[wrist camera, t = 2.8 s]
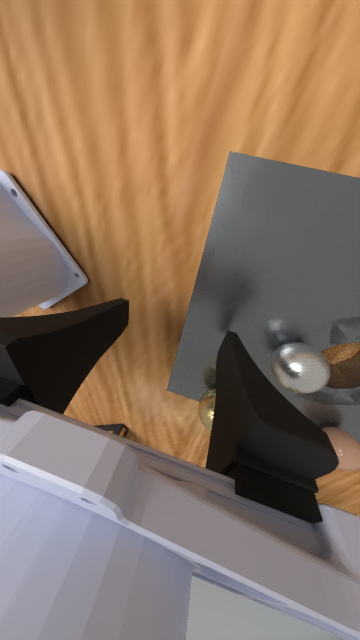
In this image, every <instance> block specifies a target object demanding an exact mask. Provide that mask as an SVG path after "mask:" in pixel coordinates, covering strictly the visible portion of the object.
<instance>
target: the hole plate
mask: <svg viewBox="0 0 360 640" xmlns="http://www.w3.org/2000/svg"><path fill="white" fill-rule="evenodd" d="M227 330H229V331H232V332H235V333H237V335H238V336H239V338H240V340H241V342H242V343H243V345H244V347H245V348H246V350H247V352H248V353H249V355H250V356H251V358H252V359H253V361H254V362H255V364H256V365H257V366H258V368H259V369H260V370H261V372H262V373H263V374H264V375H265V376H266V378H267V379H268V380H269V381H270V382H271V383H272V384H273V386H274V387H275V388H276V389H277V390H278V391H279V392H280V393H281V394H282V395H283V396H284V397H285V398H286V399H287V400H288V401H289V402H290V403H291V404H293V405H294V406H295V407H296V408H297V409H298V410H299V411H300V412H301V413H303V414H304V415H305V416H306V417H307V418H309V419H310V420H311V421H312V422H314V423H315V424H316V425H317V426H319V427H320V428H323V427H327V426H332V427H337V428H340V429H343V430H345V431H346V432H348V433H349V434H351V435H352V436H353V437H354V438H355V439H356V440H357V441H358V442H359V444H360V351H359V352H358V353H357V354H356V355H355V356H353V357H352V358H351V359H349V360H346V361H343V362H341V363H338V364H335V365H329V366H330V372H331V373H330V378H329V381H328V383H327V384H326V385H325V386H324V387H323V388H322V389H320V390H319V391H317V392H314V393H308V394H302V393H296V392H293V391H290V390H288V389H286V388H285V387H283V386H282V385H280V384H279V383H278V382H277V381H276V379H275V378H274V376H273V374H272V372H271V369H270V359H271V356H272V354H273V352H274V351H275V350H276V349H277V348H278V347H280V346H282V345H284V344H287V343H291V342H299V343H305V344H308V345H310V346H313V347H314V348H316V349H318V350H319V351H320V352H321V351H324V350H326V349H328V348H331V347H333V346H336V345H338V344H344V343H356V342H360V178H356V177H351V176H347V175H342V174H337V173H332V172H327V171H323V170H318V169H313V168H308V167H303V166H298V165H294V164H289V163H284V162H279V161H274V160H270V159H265V158H260V157H255V156H250V155H245V154H241V153H236V152H231V151H230V153H229V157H228V161H227V165H226V168H225V172H224V176H223V180H222V183H221V187H220V191H219V195H218V199H217V202H216V206H215V210H214V214H213V218H212V221H211V225H210V229H209V233H208V236H207V240H206V244H205V248H204V252H203V255H202V259H201V263H200V267H199V270H198V274H197V278H196V282H195V286H194V289H193V293H192V297H191V301H190V305H189V308H188V312H187V316H186V320H185V323H184V327H183V331H182V335H181V339H180V342H179V346H178V350H177V354H176V358H175V361H174V365H173V369H172V373H171V376H170V380H169V384H168V388H167V390H168V391H171V392H174V393H176V394H179V395H182V396H185V397H188V398H191V399H194V400H197V401H199V400H200V398H201V396H202V395H203V394H204V393H205V392H206V391H207V390H209V389H211V388H216V360H217V354H218V350H219V348H220V346H221V344H222V341H223V339H224V337H225V335H226V333H227Z"/></svg>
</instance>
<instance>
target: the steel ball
mask: <svg viewBox="0 0 360 640" xmlns="http://www.w3.org/2000/svg"><path fill="white" fill-rule="evenodd" d="M270 369H271V372H272V374H273V376H274V378H275V379H276V381H277V382H278V383H279V384H280V385H282V386H283V387H285V388H286V389H288V390H290V391H293V392H296V393H302V394H308V393H314V392H317V391H319V390H320V389H322V388H323V387H324V386H325V385H326V384H327V383H328V381H329V378H330V373H331V372H330V366H329V363H328V361H327V359H326V357H325V356H324V355H323V354H322V353H321V352H320V351H319V350H318V349H316V348H314V347H313V346H310V345H308V344H305V343H299V342H291V343H287V344H284V345H282V346H280V347H278V348H277V349H276V350H275V351H274V352H273V354H272V356H271V359H270Z"/></svg>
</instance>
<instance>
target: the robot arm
mask: <svg viewBox="0 0 360 640" xmlns="http://www.w3.org/2000/svg"><path fill="white" fill-rule="evenodd" d="M77 273H78V274H79V276H78V274H77ZM87 283H88V279H87V277H86V276H85V274H84V273H83V272H82V270H81V269H80V268H79V266H78V265H77V263H76V262H75V261H74V259H73V258H72V257H71V255H70V254H69V253H68V251H67V250H66V249H65V247H64V246H63V245H62V243H61V242H60V241H59V239H58V238H57V237H56V235H55V234H54V233H53V231H52V230H51V228H50V227H49V226H48V224H47V223H46V222H45V220H44V219H43V218H42V216H41V215H40V214H39V212H38V211H37V210H36V208H35V207H34V206H33V204H32V203H31V202H30V200H29V199H28V198H27V196H26V195H25V194H24V192H23V191H22V189H21V188H20V187H19V185H18V184H17V183H16V181H15V180H14V179H13V177H12V176H11V175H10V174H9V173H8V172H7V171H3V170H0V640H186V630H187V620H188V609H189V599H190V588H191V578H192V576H195V577H197V578H199V579H202V580H204V581H207V582H209V583H212V584H214V585H216V586H219V587H221V588H224V589H226V590H229V591H231V592H233V593H236V594H238V595H241V596H243V597H246V598H248V599H250V600H253V601H255V602H258V603H260V604H263V605H265V606H267V607H270V608H272V609H275V610H277V611H279V612H282V613H284V614H287V615H289V616H291V617H294V618H296V619H298V620H301V621H303V622H306V623H308V624H310V625H313V626H315V627H317V628H320V629H322V630H325V631H327V632H329V633H331V634H334V635H336V636H338V637H341V638H343V639H345V640H360V518H359V517H358V516H357V515H355V514H352V513H349V512H347V511H344V510H341V509H339V508H336V507H333V506H331V505H327V504H321V503H317V500H316V497H315V494H314V493H317V492H318V487H317V484H316V481H315V479H317V478H319V477H321V476H324V475H326V474H328V473H330V472H332V471H334V470H335V469H336V468H337V466H338V464H339V458H338V456H337V454H336V452H335V450H334V448H333V445H332V443H331V441H330V439H329V437H328V435H327V433H326V432H325V431H323V430H322V429H321V428H320V427H319V426H317V425H316V424H315V423H314V422H312V421H311V420H310V419H309V418H307V417H306V416H305V415H304V414H303V413H301V412H300V411H299V410H298V409H297V408H296V407H295V406H294V405H293V404H291V403H290V402H289V401H288V400H287V399H286V398H285V397H284V396H283V395H282V394H281V393H280V392H279V391H278V390H277V389H276V388H275V387H274V386H273V384H272V383H271V382H270V381H269V380H268V379H267V378H266V376H265V375H264V374H263V373H262V372H261V370H260V369H259V368H258V366H257V365H256V364H255V362H254V361H253V359H252V358H251V356H250V355H249V353H248V352H247V350H246V348H245V347H244V345H243V343H242V342H241V340H240V338H239V336H238V335H237V333H235V332H232V331H229V330H227V333H226V335H225V337H224V339H223V341H222V344H221V346H220V348H219V350H218V354H217V360H216V395H215V406H214V415H213V422H212V430H211V436H210V443H209V450H208V456H207V462H206V468H203V467H200V466H198V465H195V464H192V463H190V462H187V461H184V460H182V459H179V458H176V457H174V456H171V455H168V454H166V453H163V452H161V451H158V450H155V449H153V448H150V447H147V446H145V445H142V444H139V443H137V442H134V441H131V440H129V439H126V438H123V437H121V436H118V435H115V434H113V433H110V432H107V431H105V430H102V429H100V428H97V427H94V426H92V425H89V424H86V423H84V422H81V421H78V420H76V419H73V418H70V417H68V416H65V415H63V413H64V411H65V410H66V408H67V406H68V405H69V403H70V401H71V400H72V398H73V397H74V395H75V393H76V392H77V390H78V389H79V387H80V386H81V384H82V383H83V381H84V380H85V378H86V377H87V375H88V374H89V372H90V371H91V370H92V368H93V367H94V365H95V364H96V363H97V361H98V360H99V359H100V358H101V356H102V355H103V354H104V353H105V352H106V351H107V350H108V349H109V347H110V346H111V345H112V344H113V343H114V342H115V341H116V340H117V339H118V337H119V336H120V335H121V334H122V333H123V331H124V330H125V328H126V327H127V325H128V320H129V300H126V299H122V298H120V299H116V300H112V301H109V302H105V303H102V304H98V305H95V306H91V307H87V308H83V309H79V310H75V311H70V312H64V313H58V314H50V315H41V316H29V317H14V316H16V315H18V314H20V313H23V312H25V311H27V310H29V309H31V308H33V307H35V306H37V305H39V306H40V307H41V308H43V309H47V308H49V307H50V306H52V305H54V304H55V303H57V302H58V301H60V300H61V299H63V298H65V297H66V296H68V295H69V294H71V293H73V292H74V291H76V290H77V289H79V288H81V287H82V286H84V285H85V284H87Z"/></svg>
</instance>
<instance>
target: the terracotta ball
mask: <svg viewBox="0 0 360 640" xmlns="http://www.w3.org/2000/svg"><path fill="white" fill-rule="evenodd" d="M321 429H322V430H323V431H325V432H326V433H327V435H328V437H329V439H330V441H331V443H332V445H333V448H334V450H335V452H336V454H337V456H338V458H339V464H338V466H337V468H339V469H342V470H346V471H354V470H357V469H359V468H360V444H359V442H358V441H357V440H356V439H355V438H354V437H353V436H352V435H351V434H349V433H348V432H346V431H345V430H343V429H340V428H337V427H332V426H327V427H323V428H321Z"/></svg>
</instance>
